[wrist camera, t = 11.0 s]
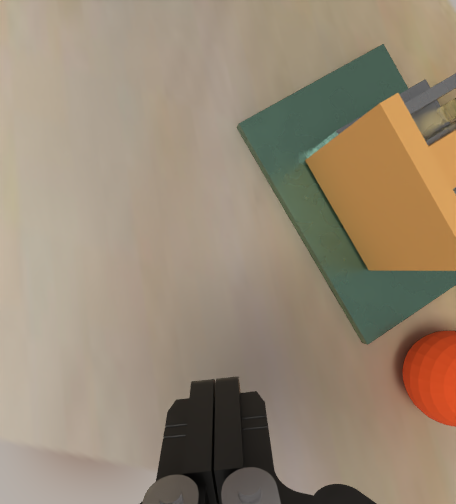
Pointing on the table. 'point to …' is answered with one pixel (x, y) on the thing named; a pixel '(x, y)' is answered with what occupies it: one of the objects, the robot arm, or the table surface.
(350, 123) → the heat sink mount
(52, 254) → the table surface
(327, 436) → the table surface
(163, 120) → the table surface
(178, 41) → the table surface
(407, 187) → the wooden stand
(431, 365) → the clementine
